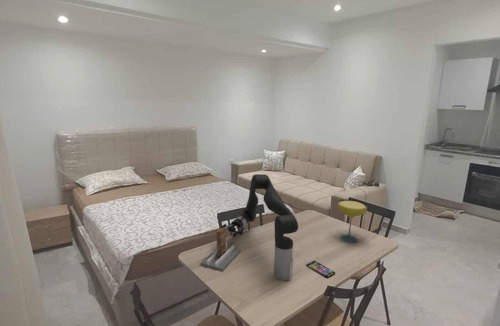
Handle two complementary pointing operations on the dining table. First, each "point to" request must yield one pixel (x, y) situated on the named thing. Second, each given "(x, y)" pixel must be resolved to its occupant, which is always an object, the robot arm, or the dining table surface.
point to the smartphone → (320, 269)
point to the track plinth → (221, 259)
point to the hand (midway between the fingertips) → (226, 234)
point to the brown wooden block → (221, 242)
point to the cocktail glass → (351, 214)
